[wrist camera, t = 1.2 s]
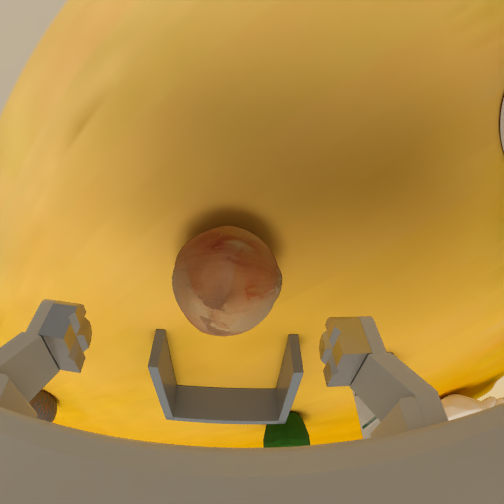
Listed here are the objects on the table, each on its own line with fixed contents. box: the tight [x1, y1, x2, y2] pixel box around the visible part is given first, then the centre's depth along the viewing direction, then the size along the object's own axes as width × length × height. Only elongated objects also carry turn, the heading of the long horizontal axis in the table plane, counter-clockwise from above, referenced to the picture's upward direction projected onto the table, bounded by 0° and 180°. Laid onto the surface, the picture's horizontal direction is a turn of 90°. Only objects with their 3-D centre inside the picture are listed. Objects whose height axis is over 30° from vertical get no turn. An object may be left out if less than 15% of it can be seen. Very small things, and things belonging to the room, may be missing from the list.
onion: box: [172, 226, 282, 336], centre depth 29 cm, size 10×10×10 cm
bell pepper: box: [263, 412, 310, 448], centre depth 52 cm, size 8×8×10 cm
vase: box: [29, 390, 57, 423], centre depth 51 cm, size 7×7×9 cm
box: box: [148, 329, 304, 424], centre depth 43 cm, size 18×15×6 cm
